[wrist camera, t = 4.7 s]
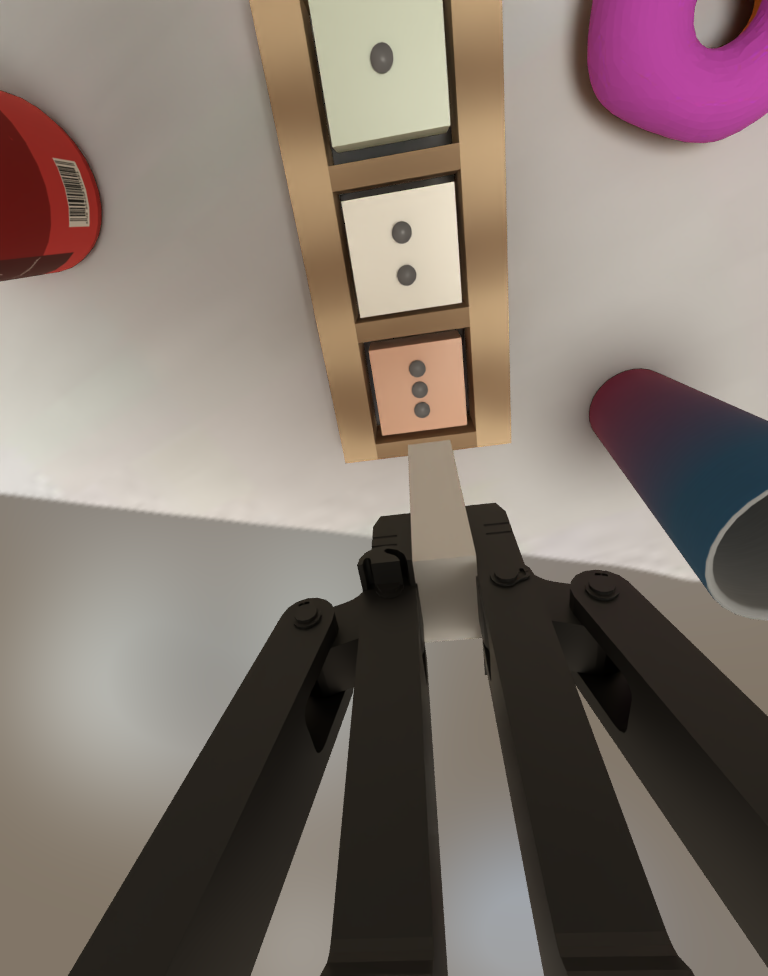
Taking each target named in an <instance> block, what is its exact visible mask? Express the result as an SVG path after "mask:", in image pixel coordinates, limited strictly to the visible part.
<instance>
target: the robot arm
mask: <svg viewBox="0 0 768 976" xmlns="http://www.w3.org/2000/svg"><path fill="white" fill-rule="evenodd" d="M408 461H409V487H410V513H408V514H399V515H390V516H381V517H380V518H379V520H378V521H377V522H376V524H375V525H374V527H373V537H372V538H373V540H372V550H370V551H368V552H366V553H365V554H364V555H363V556H362V557H361V558H360V559H359V562H358V564H357V566H358V570H359V575H360V580H361V584H362V588H363V592H362V593H361V594H360V595H359V596H358V597H356V598H355V599H353V600H351V601H349V602H346V603H344V604H341V605H338V606H335V607H333V606H332V604H330V603H329V602H328V601H326V600H324V599H320V598H308V599H305V600H301V601H299V602H296V603H295V604H293V605H292V606H290V607H289V608H288V609H287V610H286V611H285V612H284V614H283V615H282V616H281V618H280V620H279V621H278V623H277V625H276V626H275V628H274V630H273V632H272V633H271V635H270V637H269V638H268V640H267V642H266V643H265V645H264V647H263V648H262V650H261V652H260V653H259V655H258V657H257V658H256V660H255V662H254V663H253V665H252V667H251V669H250V670H249V672H248V674H247V675H246V677H245V679H244V680H243V682H242V684H241V686H240V687H239V689H238V690H237V692H236V694H235V695H234V697H233V699H232V700H231V702H230V704H229V706H228V707H227V709H226V711H225V712H224V714H223V716H222V717H221V719H220V721H219V722H218V724H217V726H216V727H215V729H214V731H213V733H212V734H211V736H210V737H209V739H208V741H207V743H206V744H205V746H204V748H203V749H202V751H201V753H200V754H199V756H198V758H197V759H196V761H195V763H194V765H193V766H192V768H191V769H190V771H189V773H188V775H187V776H186V778H185V780H184V781H183V783H182V785H181V786H180V788H179V790H178V792H177V793H176V795H175V796H174V799H173V800H172V802H171V803H170V805H169V806H168V808H167V810H166V812H165V813H164V815H163V817H162V818H161V820H160V822H159V823H158V825H157V827H156V828H155V830H154V832H153V833H152V835H151V837H150V839H149V840H148V842H147V844H146V845H145V847H144V849H143V850H142V852H141V854H140V855H139V857H138V859H137V860H136V862H135V864H134V865H133V867H132V869H131V870H130V872H129V874H128V876H127V877H126V879H125V881H124V882H123V884H122V886H121V887H120V889H119V891H118V892H117V894H116V896H115V897H114V899H113V901H112V902H111V904H110V906H109V908H108V909H107V911H106V912H105V914H104V916H103V918H102V919H101V921H100V923H99V924H98V926H97V928H96V929H95V931H94V933H93V934H92V936H91V938H90V939H89V941H88V943H87V944H86V946H85V948H84V950H83V951H82V953H81V955H80V956H79V958H78V960H77V961H76V963H75V965H74V967H73V968H72V970H71V971H70V973H69V975H68V976H250V975H251V972H252V970H253V967H254V964H255V961H256V959H257V956H258V953H259V951H260V947H261V945H262V942H263V939H264V937H265V934H266V931H267V928H268V926H269V923H270V920H271V917H272V915H273V912H274V909H275V906H276V904H277V901H278V898H279V895H280V893H281V890H282V887H283V884H284V882H285V879H286V876H287V873H288V870H289V868H290V865H291V862H292V859H293V856H294V854H295V851H296V848H297V845H298V843H299V840H300V837H301V834H302V832H303V829H304V826H305V824H306V821H307V818H308V815H309V812H310V810H311V807H312V804H313V801H314V799H315V796H316V793H317V790H318V788H319V785H320V782H321V779H322V777H323V773H324V771H325V768H326V766H327V763H328V760H329V757H330V754H331V751H332V749H333V746H334V743H335V741H336V738H337V735H338V732H339V729H340V727H341V724H342V721H343V718H344V716H345V713H346V710H347V707H348V705H349V702H350V699H351V696H352V694H353V688H354V695H353V706H352V717H351V728H350V739H349V750H348V761H347V772H346V783H345V794H344V805H343V816H342V826H341V838H340V848H339V860H338V871H337V882H336V892H335V904H334V914H333V925H332V936H331V945H330V953H329V957H328V961H327V964H326V966H325V968H324V970H323V971H322V973H321V975H320V976H448V970H447V956H446V940H445V926H444V912H443V911H444V910H443V895H442V880H441V865H440V849H439V834H438V819H437V805H436V790H435V775H434V759H433V744H432V730H431V713H430V698H429V683H428V669H427V657H426V650H425V642H437V641H449V640H461V639H473V638H482V639H483V651H484V666H485V675H488V680H489V685H490V690H491V696H492V701H493V707H494V712H495V717H496V723H497V727H498V733H499V738H500V744H501V749H502V754H503V760H504V765H505V770H506V776H507V781H508V786H509V792H510V796H511V802H512V807H513V812H514V818H515V823H516V829H517V834H518V839H519V844H520V850H521V855H522V860H523V866H524V871H525V876H526V881H527V887H528V892H529V898H530V903H531V908H532V913H533V919H534V924H535V929H536V935H537V940H538V945H539V951H540V956H541V961H542V966H543V971H544V976H694V974H693V972H692V971H691V969H690V968H689V967H688V966H687V965H686V964H685V963H684V962H683V961H682V960H681V958H680V957H679V956H678V955H677V953H676V951H675V950H674V948H673V946H672V944H671V941H670V939H669V936H668V934H667V932H666V929H665V926H664V924H663V921H662V918H661V916H660V913H659V910H658V907H657V905H656V902H655V899H654V897H653V894H652V891H651V888H650V886H649V883H648V880H647V878H646V875H645V872H644V870H643V867H642V864H641V862H640V859H639V856H638V854H637V851H636V848H635V845H634V843H633V840H632V837H631V834H630V832H629V829H628V827H627V824H626V821H625V818H624V816H623V813H622V810H621V807H620V805H619V802H618V799H617V797H616V794H615V791H614V789H613V786H612V783H611V780H610V778H609V775H608V772H607V770H606V767H605V764H604V761H603V759H602V756H601V754H600V751H599V748H598V745H597V743H596V740H595V738H594V734H593V732H592V729H591V726H590V724H589V721H588V718H587V716H586V713H585V710H584V708H583V705H582V702H581V700H580V697H579V694H578V691H577V689H576V686H577V688H578V689H579V690H580V692H581V693H582V695H583V696H584V698H585V699H586V701H587V702H588V704H589V705H590V707H591V708H592V710H593V711H594V713H595V714H596V716H597V717H598V719H599V720H600V722H601V723H602V724H603V726H604V727H605V729H606V730H607V732H608V733H609V735H610V736H611V738H612V739H613V740H614V742H615V743H616V745H617V746H618V748H619V749H620V751H621V752H622V754H623V755H624V757H625V758H626V760H627V761H628V763H629V764H630V766H631V767H632V769H633V770H634V772H635V773H636V775H637V776H638V777H639V779H640V780H641V782H642V783H643V785H644V786H645V788H646V789H647V791H648V792H649V794H650V795H651V797H652V798H653V799H654V801H655V802H656V804H657V805H658V807H659V808H660V810H661V811H662V813H663V814H664V816H665V817H666V819H667V820H668V822H669V823H670V825H671V826H672V828H673V829H674V830H675V832H676V833H677V835H678V836H679V838H680V839H681V841H682V842H683V844H684V845H685V846H686V848H687V849H688V851H689V853H690V854H691V855H692V857H693V858H694V860H695V861H696V863H697V864H698V866H699V867H700V869H701V870H702V872H703V873H704V875H705V876H706V878H707V879H708V880H709V882H710V883H711V885H712V886H713V888H714V889H715V891H716V892H717V894H718V895H719V897H720V898H721V900H722V901H723V903H724V904H725V906H726V907H727V908H728V910H729V911H730V913H731V914H732V916H733V917H734V919H735V920H736V922H737V923H738V925H739V926H740V928H741V929H742V930H743V932H744V933H745V935H746V936H747V938H748V939H749V941H750V942H751V944H752V945H753V947H754V948H755V949H756V951H757V953H758V954H759V956H760V957H761V958H762V960H763V961H764V963H765V964H766V966H767V967H768V716H767V715H766V714H765V713H764V712H763V711H761V709H760V708H759V707H757V706H756V705H755V704H754V703H753V702H752V701H751V700H750V699H749V698H748V697H747V696H746V695H745V694H744V693H743V692H742V691H741V690H740V689H739V688H738V687H737V686H736V685H735V684H734V683H733V682H732V681H730V679H729V678H727V677H726V676H725V675H724V674H723V673H722V672H721V671H720V670H719V669H718V668H717V667H716V666H715V665H714V664H713V663H712V662H711V661H710V660H709V659H708V658H707V657H706V656H705V655H704V654H703V653H701V651H699V649H697V648H696V647H695V646H694V645H693V644H692V643H691V642H690V641H689V640H688V639H687V638H686V637H685V636H684V635H683V634H682V633H681V632H680V631H679V630H678V629H677V628H676V627H675V626H674V625H673V624H672V623H671V622H670V621H669V620H667V619H666V618H665V617H664V616H663V615H662V614H661V613H660V612H659V611H658V610H657V609H656V608H655V607H654V606H653V605H652V604H651V603H650V602H649V601H648V600H647V599H646V598H645V597H644V596H643V595H641V593H640V592H639V591H637V590H636V589H635V588H634V587H633V586H632V585H631V584H630V583H629V582H628V581H627V580H625V579H624V578H622V577H621V576H619V575H617V574H614V573H611V572H608V571H602V570H591V571H584V572H582V573H580V574H578V575H576V576H575V577H574V578H573V580H572V581H571V584H566V583H559V582H553V581H548V580H544V579H542V578H539V577H537V576H535V575H534V573H533V572H532V570H531V569H530V568H529V567H527V566H526V565H525V564H524V562H523V559H522V556H521V553H520V550H519V548H518V545H517V542H516V539H515V536H514V534H513V532H512V528H511V525H510V524H509V520H508V517H507V514H506V511H505V510H503V509H502V508H501V507H500V506H499V505H497V504H496V503H489V504H480V505H470V506H465V504H464V499H463V495H462V490H461V486H460V482H459V477H458V473H457V468H456V464H455V459H454V455H453V451H452V446H451V442H450V440H445V441H437V442H429V443H421V444H413V445H408ZM481 634H482V636H481ZM575 685H576V686H575Z"/></svg>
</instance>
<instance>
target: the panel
mask: <svg viewBox="0 0 768 976" xmlns="http://www.w3.org/2000/svg"><path fill="white" fill-rule="evenodd" d="M249 2H250V7H251V12H252V16H253V21H254V26H255V31H256V36H257V40H258V45H259V50H260V55H261V60H262V64H263V69H264V74H265V79H266V83H267V88H268V93H269V98H270V103H271V107H272V112H273V117H274V122H275V127H276V131H277V136H278V141H279V146H280V151H281V155H282V160H283V165H284V170H285V175H286V179H287V184H288V189H289V194H290V199H291V203H292V208H293V213H294V218H295V223H296V227H297V232H298V237H299V242H300V247H301V251H302V256H303V261H304V266H305V271H306V275H307V280H308V285H309V290H310V295H311V299H312V304H313V309H314V314H315V319H316V323H317V328H318V333H319V338H320V343H321V347H322V352H323V357H324V362H325V366H326V371H327V376H328V381H329V386H330V390H331V395H332V400H333V405H334V410H335V414H336V419H337V424H338V429H339V434H340V438H341V443H342V448H343V453H344V458H345V462H346V463H352V462H360V461H369V460H377V459H385V458H393V457H401V456H408V445H413V444H421V443H429V442H437V441H445V440H450V442H451V446H452V450H458V449H466V448H474V447H482V446H491V445H499V444H507V443H511V410H510V362H509V313H508V265H507V217H506V169H505V120H504V72H503V24H502V0H443V9H444V25H445V40H446V56H447V71H448V87H449V102H450V117H451V133H452V144H449V145H444V146H438V147H433V148H427V149H422V150H416V151H411V152H405V153H400V154H394V155H389V156H383V157H378V158H372V159H367V160H361V161H356V162H351V163H345V164H340V165H334V161H333V155H332V149H331V143H330V137H329V131H328V125H327V119H326V113H325V107H324V101H323V95H322V89H321V83H320V77H319V71H318V65H317V59H316V53H315V47H314V41H313V35H312V29H311V23H310V17H309V15H311V14H310V8H309V2H308V0H249ZM449 175H454V179H455V195H456V210H457V226H458V241H459V257H460V272H461V288H462V303H456V304H449V305H443V306H436V307H430V308H423V309H416V310H410V311H403V312H397V313H390V314H383V315H377V316H370V317H364V318H360V314H359V312H358V306H357V300H356V294H355V288H354V282H353V276H352V270H351V264H350V258H349V252H348V246H347V240H346V234H345V228H344V222H343V216H342V210H341V204H340V198H339V195H341V194H347V193H353V192H358V191H364V190H370V189H375V188H381V187H387V186H392V185H398V184H404V183H409V182H415V181H421V180H426V179H432V178H438V177H443V176H449ZM458 328H464V334H465V350H466V365H467V381H468V396H469V412H470V414H466V415H467V425H462V426H454V427H446V428H438V429H431V430H423V431H415V432H407V433H399V434H391V435H384V436H382V430H381V425H378V426H377V421H376V415H375V409H374V403H373V397H372V391H371V385H370V379H369V373H368V367H367V361H366V355H365V349H364V343H363V342H370V341H376V340H383V339H390V338H397V337H404V336H411V335H417V334H424V333H431V332H438V331H445V330H451V329H458Z"/></svg>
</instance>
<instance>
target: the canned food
mask: <svg viewBox="0 0 768 976" xmlns="http://www.w3.org/2000/svg"><path fill="white" fill-rule="evenodd" d="M100 227H101V202H100V196H99V191H98V188H97V185H96V182H95V179H94V176H93V173H92V171H91V169H90V167H89V165H88V163H87V161H86V159H85V157H84V156H83V154H82V153H81V151H80V150H79V149H78V147H77V146H76V144H75V143H74V141H73V140H72V139H71V138H70V137H69V136H68V135H67V134H66V132H65V131H64V130H63V129H62V128H61V127H60V126H59V125H57V124H56V123H55V122H54V121H53V120H52V119H50V118H49V117H48V116H47V115H46V114H45V113H43V112H42V111H41V110H40V109H39V108H37V107H35V106H34V105H32V104H30V103H29V102H27V101H26V100H24V99H22V98H20V97H17V96H15V95H12V94H10V93H7V92H4V91H1V90H0V281H6V280H12V279H18V278H24V277H30V276H36V275H42V274H48V273H54V272H60V271H63V270H66V269H69V268H72V267H73V266H75V265H76V264H78V263H79V262H80V261H82V260H83V259H84V258H85V257H86V256H87V254H88V253H89V252H90V251H91V249H92V248H93V247H94V245H95V243H96V241H97V238H98V236H99V232H100Z"/></svg>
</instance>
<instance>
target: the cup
mask: <svg viewBox="0 0 768 976" xmlns="http://www.w3.org/2000/svg"><path fill="white" fill-rule="evenodd" d="M589 420H590V424H591V427H592V429H593V431H594V432H595V434H596V435H597V437H598V438H599V439H600V441H601V442H602V444H603V445H604V446H605V448H606V449H607V451H608V452H609V453H610V455H611V456H612V458H613V459H614V460H615V462H616V463H617V465H618V466H619V467H620V469H621V470H622V472H623V473H624V474H625V476H626V477H627V479H628V480H629V481H630V483H631V484H632V486H633V487H634V488H635V490H636V491H637V493H638V494H639V495H640V497H641V498H642V500H643V501H644V502H645V504H646V505H647V506H648V508H649V509H650V511H651V512H652V513H653V515H654V516H655V518H656V519H657V520H658V522H659V523H660V525H661V526H662V527H663V529H664V530H665V532H666V533H667V534H668V536H669V537H670V539H671V540H672V541H673V543H674V544H675V546H676V547H677V548H678V550H679V551H680V553H681V554H682V555H683V557H684V558H685V560H686V561H687V562H688V564H689V565H690V567H691V568H692V569H693V571H694V572H695V574H696V575H697V576H698V578H699V579H700V581H701V582H702V583H703V585H704V586H705V587H706V589H707V590H708V592H709V593H710V595H711V596H712V597H713V599H714V600H716V601H717V602H718V603H719V604H720V605H721V606H722V607H723V608H725V609H727V610H729V611H731V612H733V613H734V614H737V615H740V616H743V617H747V618H751V619H759V620H768V421H767V420H764V419H762V418H760V417H757V416H755V415H753V414H751V413H748V412H746V411H744V410H741V409H739V408H737V407H735V406H732V405H730V404H728V403H725V402H723V401H721V400H719V399H716V398H714V397H712V396H709V395H707V394H705V393H703V392H700V391H698V390H696V389H693V388H691V387H689V386H687V385H684V384H682V383H680V382H678V381H675V380H673V379H671V378H668V377H666V376H664V375H662V374H659V373H657V372H654V371H652V370H648V369H632V370H628V371H624V372H622V373H620V374H617V375H615V376H614V377H612V378H611V379H609V380H608V381H607V382H606V383H605V384H603V385H602V386H601V388H600V389H599V390H598V391H597V393H596V395H595V396H594V398H593V400H592V403H591V406H590V411H589Z"/></svg>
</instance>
